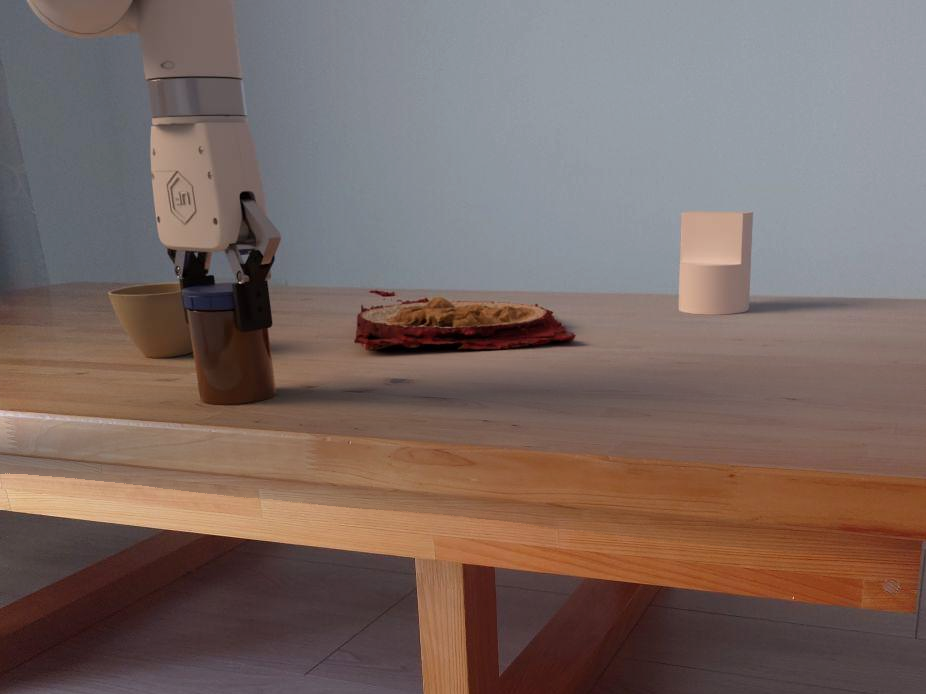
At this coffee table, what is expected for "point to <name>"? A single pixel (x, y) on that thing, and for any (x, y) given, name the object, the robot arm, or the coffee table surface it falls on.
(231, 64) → the robot arm
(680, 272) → the base with upright slab
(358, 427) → the coffee table surface
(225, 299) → the jar lid
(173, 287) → the flower pot
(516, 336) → the plate with food
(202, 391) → the jar
